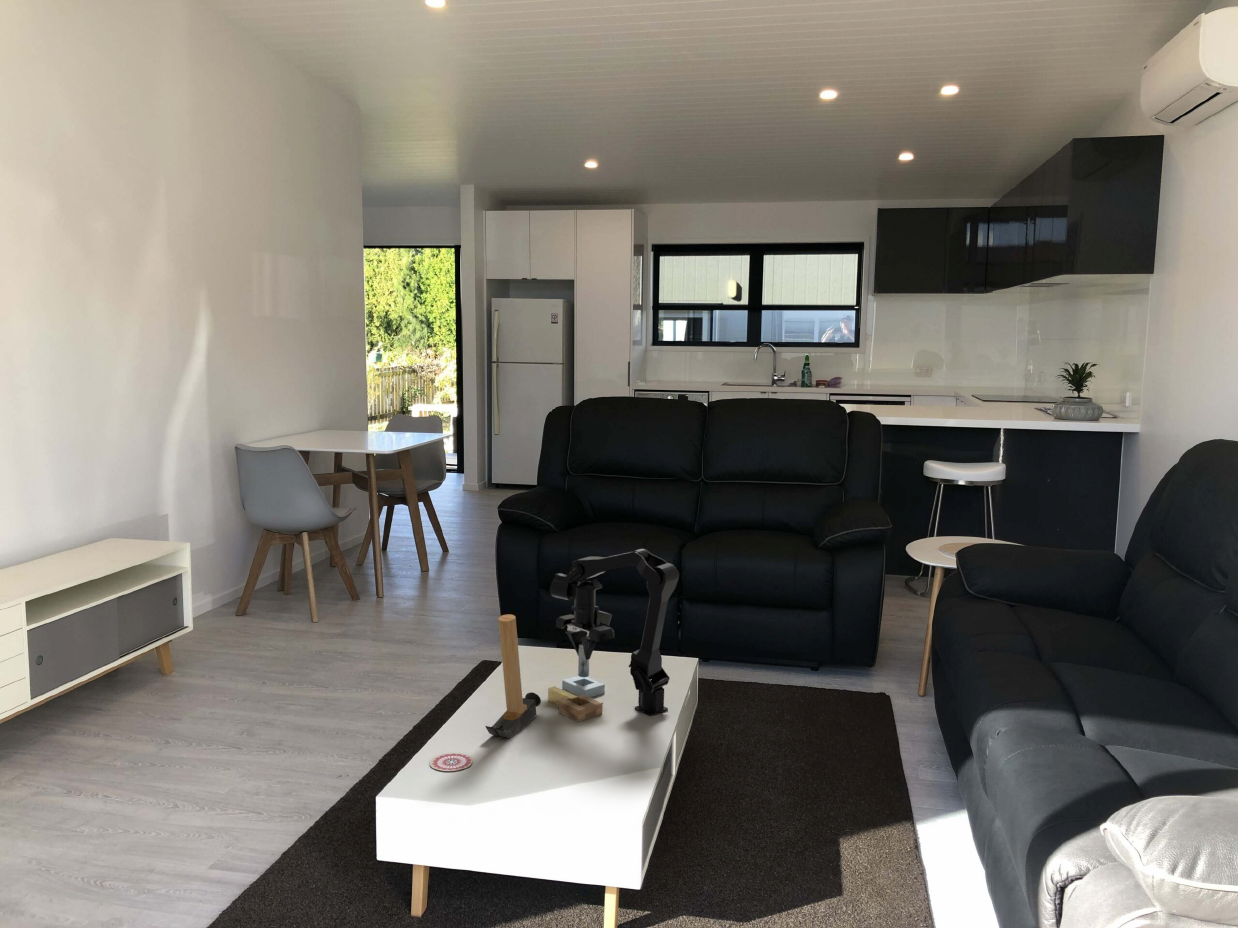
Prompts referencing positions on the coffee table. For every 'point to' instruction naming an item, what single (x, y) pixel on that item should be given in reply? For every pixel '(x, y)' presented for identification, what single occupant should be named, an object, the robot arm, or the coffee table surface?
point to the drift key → (560, 695)
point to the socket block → (581, 708)
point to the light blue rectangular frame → (583, 686)
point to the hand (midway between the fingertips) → (584, 657)
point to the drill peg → (582, 663)
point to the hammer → (513, 685)
